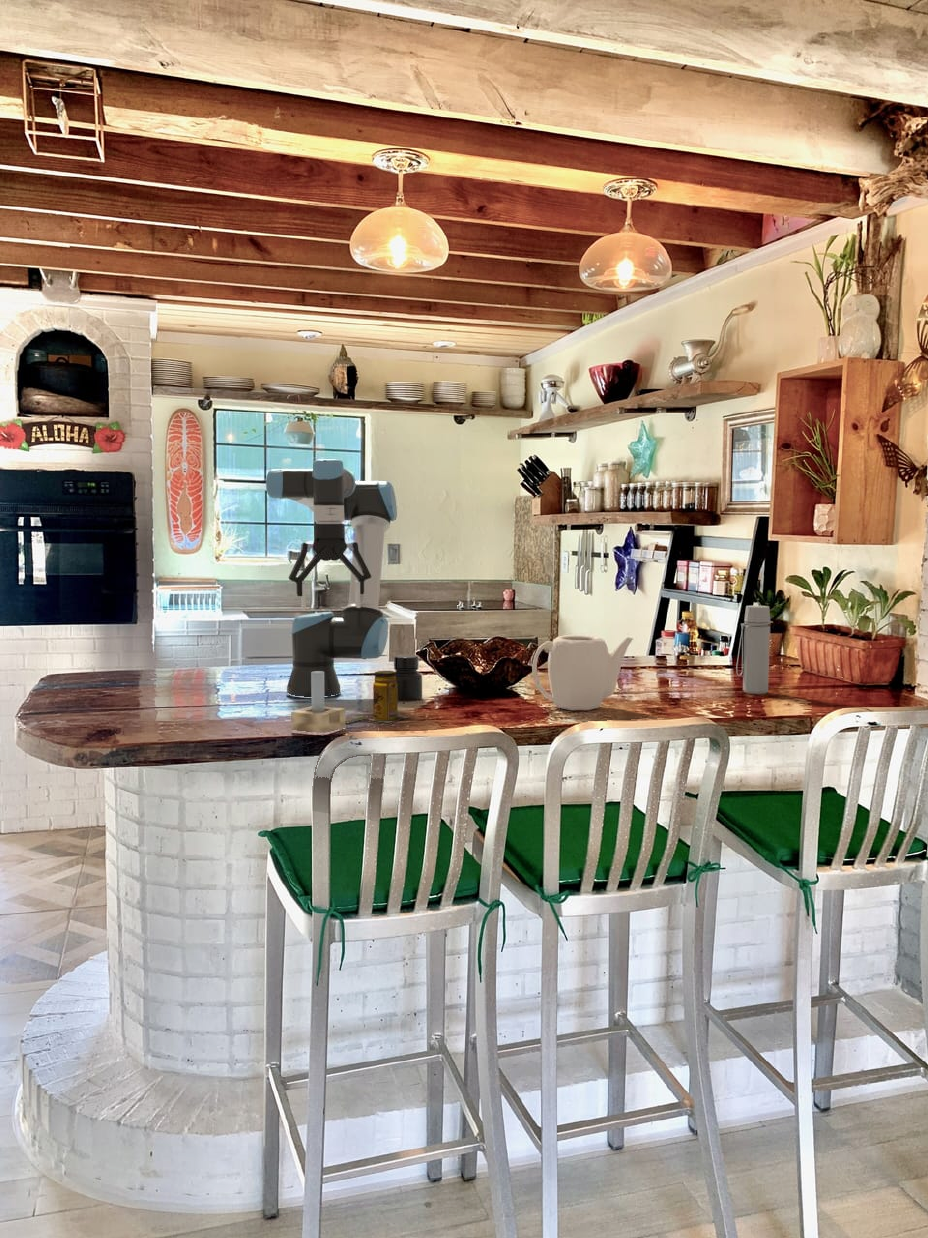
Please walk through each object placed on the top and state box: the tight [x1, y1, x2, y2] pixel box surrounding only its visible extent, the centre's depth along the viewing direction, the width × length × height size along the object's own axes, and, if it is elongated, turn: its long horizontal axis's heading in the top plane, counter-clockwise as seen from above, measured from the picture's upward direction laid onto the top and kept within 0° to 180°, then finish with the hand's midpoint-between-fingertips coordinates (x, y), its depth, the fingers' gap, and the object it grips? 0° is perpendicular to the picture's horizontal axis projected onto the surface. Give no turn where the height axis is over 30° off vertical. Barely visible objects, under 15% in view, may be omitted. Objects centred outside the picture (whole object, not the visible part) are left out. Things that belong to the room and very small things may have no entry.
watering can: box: [531, 634, 634, 711], centre depth 255 cm, size 16×27×19 cm, turn 91°
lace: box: [345, 715, 367, 723], centre depth 236 cm, size 10×1×1 cm, turn 143°
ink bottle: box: [393, 654, 423, 702], centre depth 268 cm, size 10×9×12 cm
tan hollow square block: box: [290, 705, 346, 733], centre depth 226 cm, size 9×9×5 cm
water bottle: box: [735, 605, 772, 695], centre depth 277 cm, size 9×8×25 cm
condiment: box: [368, 670, 410, 724], centre depth 240 cm, size 7×8×12 cm
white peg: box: [311, 671, 326, 713], centre depth 225 cm, size 3×3×14 cm
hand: (331, 608), depth 240 cm, fingers open, 13 cm apart
